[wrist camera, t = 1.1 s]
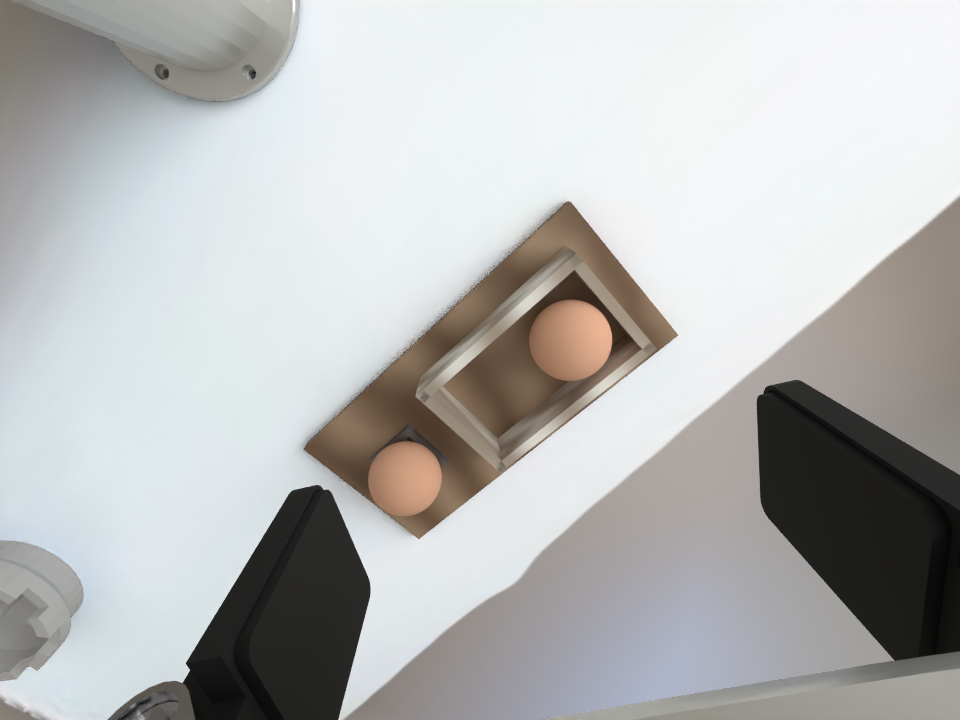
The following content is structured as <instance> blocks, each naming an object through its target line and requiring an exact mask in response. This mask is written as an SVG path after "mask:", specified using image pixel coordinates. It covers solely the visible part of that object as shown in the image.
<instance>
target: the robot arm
mask: <svg viewBox="0 0 960 720" xmlns="http://www.w3.org/2000/svg"><path fill="white" fill-rule="evenodd" d="M10 1H12V2H15V3H17V4H20V5H23V6H25V7H28V8H30V9H33V10H35V11H38V12H41V13H43V14H46V15H48V16H51V17H54V18H56V19H59V20H61V21H64V22H66V23H69V24H72V25H74V26H77V27H79V28H82V29H84V30H87V31H90V32H92V33H95V34H97V35H100V36H102V37H105V38H108V39H110V40H112V41H113V43H114V44H115V46H116V47H117V48H118V50H119V51H120V52H121V53H122V54H123V55H124V56H125V57H126V58H127V59H128V60H129V61H130V62H131V63H132V64H133V65H134V66H135V67H136V68H137V69H138V70H139V71H141V72H142V73H143V74H145V75H146V76H148V77H149V78H150V79H152V80H153V81H154V82H156V83H158V84H160V85H162V86H164V87H166V88H167V89H169V90H171V91H173V92H176V93H179V94H182V95H185V96H188V97H192V98H196V99H201V100H206V101H230V100H234V99H239V98H243V97H246V96H248V95H250V94H252V93H254V92H256V91H258V90H260V89H261V88H262V87H263V86H265V85H266V84H267V83H268V82H270V81H271V80H272V79H273V78H274V77H275V75H276V74H277V73H278V72H279V70H280V69H281V68H282V67H283V65H284V64H285V62H286V60H287V58H288V55H289V53H290V51H291V49H292V47H293V44H294V40H295V36H296V32H297V29H298V20H299V8H300V2H299V0H10ZM168 71H169V77H168V76H167V72H168ZM253 71H255V72H256V77H255V78H254V79H253V78H252V76H251V73H252V72H253ZM757 422H758V447H759V472H760V497H761V504H762V507H763V510H764V512H765V514H766V515H767V517H768V518H769V519H770V520H771V522H772V523H773V524H774V525H775V526H776V527H777V528H778V529H779V531H780V532H781V533H782V534H783V535H784V536H785V537H786V538H787V539H788V541H789V542H790V543H791V544H792V545H793V546H794V548H795V549H796V550H798V552H799V553H800V554H801V555H802V556H803V558H804V559H805V560H806V561H807V562H808V563H809V564H810V566H811V567H812V568H813V569H814V570H815V571H816V572H817V573H818V575H819V576H820V577H821V578H822V579H823V580H824V581H825V582H826V584H827V585H828V586H829V587H830V588H831V589H832V590H833V592H834V593H835V594H836V595H837V596H838V597H839V598H840V599H841V601H842V602H843V603H844V604H845V605H846V606H847V607H848V608H849V609H850V611H851V612H852V613H853V614H854V615H855V616H856V617H857V619H858V620H859V621H860V622H861V623H862V624H863V625H864V626H865V628H866V629H867V630H868V631H869V632H870V633H871V634H872V635H873V637H874V638H875V639H876V640H877V641H878V642H879V643H880V645H881V646H882V647H883V648H884V649H885V650H886V651H887V652H888V654H889V655H890V656H891V657H892V658H893V659H894V660H895V661H890V662H884V663H877V664H870V665H865V666H858V667H852V668H846V669H840V670H834V671H828V672H822V673H816V674H810V675H804V676H798V677H792V678H786V679H779V680H773V681H768V682H761V683H756V684H749V685H743V686H737V687H731V688H725V689H719V690H713V691H707V692H701V693H695V694H689V695H683V696H678V697H672V698H666V699H660V700H654V701H648V702H642V703H636V704H630V705H625V706H619V707H613V708H607V709H601V710H595V711H590V712H584V713H578V714H572V715H566V716H560V717H554V718H549V719H543V720H960V475H959V474H957V473H955V472H954V471H952V470H950V469H949V468H947V467H945V466H943V465H942V464H940V463H938V462H937V461H935V460H933V459H932V458H930V457H928V456H927V455H925V454H923V453H922V452H920V451H918V450H916V449H915V448H913V447H912V446H910V445H908V444H906V443H905V442H903V441H901V440H900V439H898V438H896V437H895V436H893V435H891V434H890V433H888V432H886V431H884V430H883V429H881V428H879V427H878V426H876V425H874V424H873V423H871V422H869V421H868V420H866V419H864V418H863V417H861V416H859V415H858V414H856V413H854V412H852V411H851V410H849V409H847V408H846V407H844V406H842V405H841V404H839V403H837V402H836V401H834V400H832V399H831V398H829V397H827V396H826V395H824V394H822V393H820V392H819V391H817V390H815V389H814V388H812V387H810V386H809V385H807V384H805V383H803V382H802V381H799V380H793V381H789V382H784V383H780V384H775V385H770V386H767V387H766V388H765V390H764V394H763V395H759V396H758V398H757ZM369 598H370V582H369V578H368V576H367V574H366V571H365V569H364V567H363V564H362V562H361V560H360V557H359V555H358V553H357V550H356V548H355V546H354V543H353V541H352V539H351V537H350V534H349V532H348V530H347V527H346V525H345V523H344V520H343V518H342V516H341V513H340V511H339V509H338V507H337V504H336V502H335V500H334V497H333V495H332V493H331V492H330V491H329V490H323V488H322V487H321V486H319V485H315V486H310V487H306V488H301V489H297V490H293V491H291V492H290V494H289V495H288V497H287V498H286V500H285V502H284V503H283V505H282V507H281V508H280V510H279V512H278V513H277V515H276V516H275V518H274V520H273V521H272V523H271V525H270V526H269V528H268V530H267V531H266V533H265V534H264V536H263V538H262V539H261V541H260V543H259V544H258V546H257V548H256V549H255V551H254V552H253V554H252V556H251V557H250V559H249V561H248V562H247V564H246V566H245V567H244V569H243V571H242V572H241V574H240V575H239V577H238V579H237V580H236V582H235V584H234V585H233V587H232V589H231V590H230V592H229V593H228V595H227V597H226V598H225V600H224V602H223V603H222V605H221V607H220V608H219V610H218V611H217V613H216V615H215V616H214V618H213V620H212V621H211V623H210V625H209V626H208V628H207V630H206V631H205V633H204V634H203V636H202V638H201V639H200V641H199V643H198V644H197V646H196V648H195V649H194V651H193V652H192V654H191V656H190V657H189V659H188V661H187V662H186V664H187V666H188V667H189V669H190V672H189V673H188V675H187V677H186V678H185V680H184V682H183V683H180V682H178V681H170V682H163V683H160V684H158V685H155V686H152V687H150V688H148V689H146V690H145V691H143V692H141V693H140V694H138V695H136V696H135V697H133V698H132V699H131V700H129V701H128V702H127V703H125V704H124V705H123V706H122V707H120V708H119V709H118V710H117V711H116V712H115V713H114V714H113V715H112V716H111V717H110V718H109V719H108V720H338V718H339V714H340V710H341V706H342V703H343V699H344V695H345V691H346V687H347V683H348V679H349V676H350V672H351V668H352V664H353V660H354V656H355V652H356V649H357V645H358V641H359V637H360V633H361V629H362V625H363V622H364V618H365V614H366V610H367V606H368V602H369Z"/></svg>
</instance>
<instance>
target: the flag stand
mask: <svg viewBox="0 0 960 720" xmlns="http://www.w3.org/2000/svg"><path fill="white" fill-rule="evenodd" d="M82 601H83V587H82V584H81V582H80V579H79V578H78V576H77V575H76V573H75V572H74V571H73V570H72V568H71V567H70V566H69V565H68V564H67V563H65V562H64V561H63V560H62V559H60V558H59V557H57V556H56V555H54V554H52V553H51V552H49V551H47V550H45V549H42V548H40V547H38V546H34V545H31V544H28V543H23V542H17V541H0V681H6V680H14V679H17V678H18V677H19V676H20V675H21V673H22V672H23V671H24V670H25V669H26V668H27V667H29V666H30V667H32V668H34V669H35V670H39V669H40V668H41V667H42V666H43V665H44V664H45V663H46V662H47V661H48V659H49V658H50V657H51V656H52V655H53V654H54V652H55V651H56V650H57V649H58V648H59V647H60V646H61V644H62V643H63V642H64V641H65V639H66V638H67V636H68V634H69V631H70V626H71V622H70V618H71V617H72V616H73V615H74V614H75V612H76V611H77V610H78V609H79V607H80V605H81V604H82Z"/></svg>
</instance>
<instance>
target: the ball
mask: <svg viewBox="0 0 960 720" xmlns="http://www.w3.org/2000/svg"><path fill="white" fill-rule="evenodd" d="M529 345H530V351H531V354H532V356H533V359H534V360H535V362H536V364H537V365H538V366H539V367H540V368H541V369H542V370H543V371H544V372H545V373H546V374H548V375H550V376H552V377H554V378H556V379H560V380H564V381H576V380H581V379H584V378H587V377H589V376H591V375H593V374H594V373H596V372H597V371H598V370H599V369H600V368H601V367H602V366H603V365H604V363H605V362H606V360H607V359H608V356H609V354H610V351H611V346H612V333H611V329H610V326H609V323H608V321H607V320H606V318H605V317H604V315H603V314H602V313H601V312H600V311H599V310H598V309H597V308H595V307H594V306H592V305H591V304H589V303H587V302H584V301H580V300H572V299H570V300H562V301H558V302H555V303H553V304H551V305H549V306H548V307H546V308H545V309H544V310H543V311H542V312H541V313H540V314H539V315H538V316H537V317H536V319H535V321H534V322H533V325H532V327H531V331H530V336H529Z"/></svg>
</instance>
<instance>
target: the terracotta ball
mask: <svg viewBox="0 0 960 720" xmlns="http://www.w3.org/2000/svg"><path fill="white" fill-rule="evenodd" d="M441 482H442V473H441V468H440V464H439V462H438V460H437V458H436V457H435V455H434V454H433V453H432V452H431V451H430V450H429V449H428V448H426V447H425V446H423V445H421V444H419V443H416V442H410V441H402V442H397V443H394V444H392V445H389V446H388V447H386V448H385V449H383V450H382V451H381V452H380V453H379V454H378V455H377V456H376V458H375V459H374V461H373V463H372V465H371V467H370V470H369V476H368V485H369V490H370V493H371V496H372V498H373V499H374V501H375V502H376V504H377V505H378V506H379V507H380V508H381V509H383V510H384V511H386V512H388V513H390V514H392V515H396V516H411V515H415V514H417V513H420V512H422V511H423V510H425V509H426V508H427V507H429V506H430V505H431V504H432V503H433V501H434V500H435V498H436V497H437V495H438V493H439V490H440V487H441Z"/></svg>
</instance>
